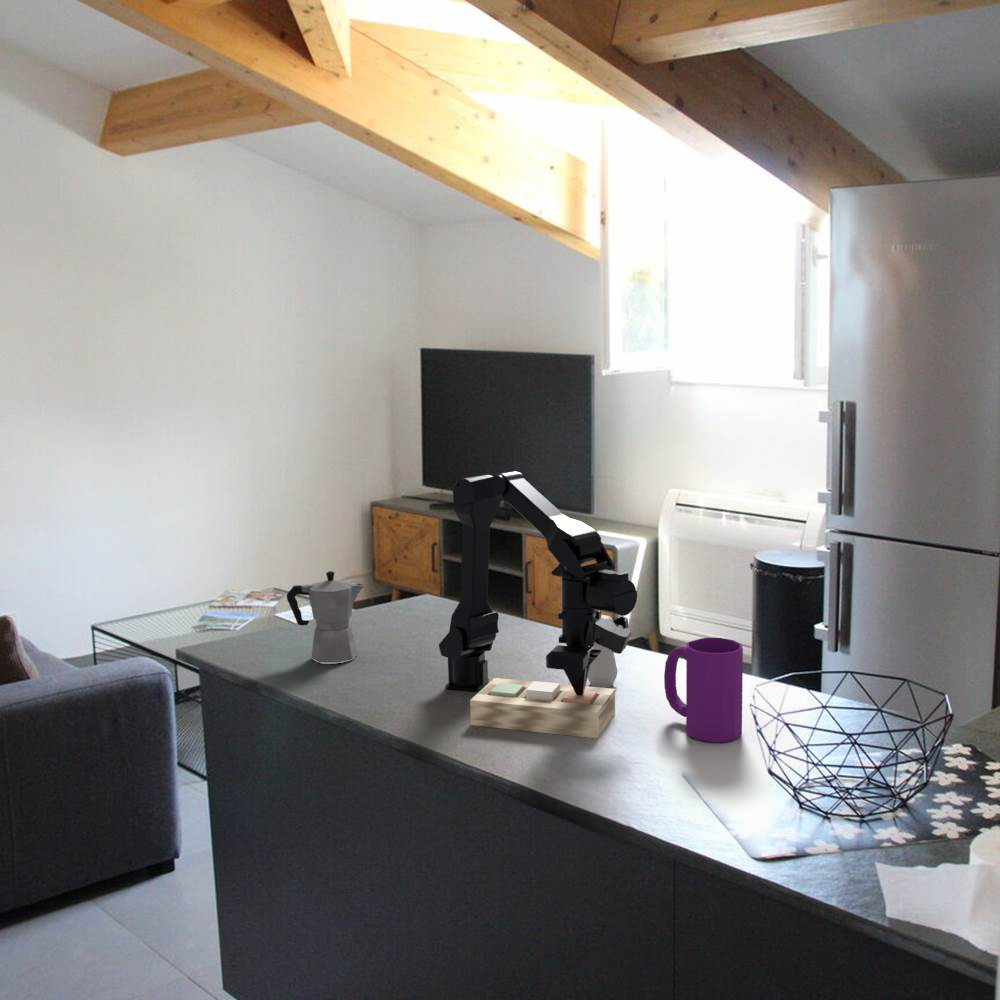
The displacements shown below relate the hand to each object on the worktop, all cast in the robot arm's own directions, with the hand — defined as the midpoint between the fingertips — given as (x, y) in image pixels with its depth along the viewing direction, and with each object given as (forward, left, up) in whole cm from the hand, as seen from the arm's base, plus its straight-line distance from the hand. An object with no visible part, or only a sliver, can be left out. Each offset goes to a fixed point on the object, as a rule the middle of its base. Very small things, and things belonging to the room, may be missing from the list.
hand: (579, 694), depth 194 cm
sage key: (-13, 0, -3) cm, 13 cm away
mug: (+20, +3, -5) cm, 20 cm away
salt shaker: (-1, +20, -5) cm, 21 cm away
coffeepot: (-58, +21, -5) cm, 62 cm away
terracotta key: (0, 0, -3) cm, 3 cm away
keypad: (-6, 0, -5) cm, 8 cm away
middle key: (-6, 0, -2) cm, 7 cm away
